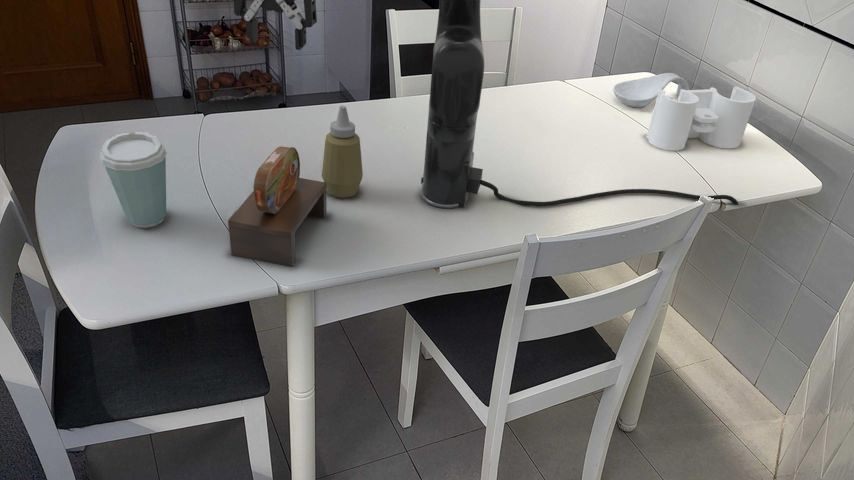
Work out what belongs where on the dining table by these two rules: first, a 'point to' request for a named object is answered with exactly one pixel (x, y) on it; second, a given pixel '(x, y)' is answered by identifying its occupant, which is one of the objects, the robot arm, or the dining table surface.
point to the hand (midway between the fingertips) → (276, 44)
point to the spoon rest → (646, 89)
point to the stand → (275, 224)
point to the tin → (276, 179)
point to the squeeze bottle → (342, 157)
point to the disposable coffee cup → (137, 176)
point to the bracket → (700, 118)
